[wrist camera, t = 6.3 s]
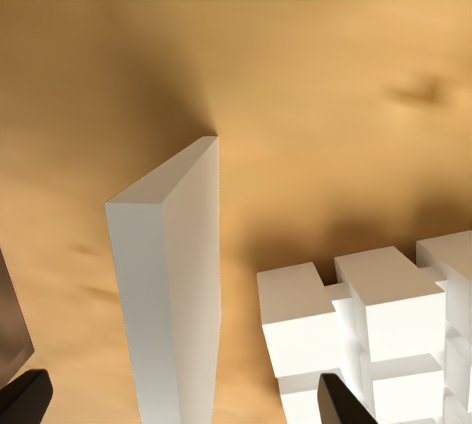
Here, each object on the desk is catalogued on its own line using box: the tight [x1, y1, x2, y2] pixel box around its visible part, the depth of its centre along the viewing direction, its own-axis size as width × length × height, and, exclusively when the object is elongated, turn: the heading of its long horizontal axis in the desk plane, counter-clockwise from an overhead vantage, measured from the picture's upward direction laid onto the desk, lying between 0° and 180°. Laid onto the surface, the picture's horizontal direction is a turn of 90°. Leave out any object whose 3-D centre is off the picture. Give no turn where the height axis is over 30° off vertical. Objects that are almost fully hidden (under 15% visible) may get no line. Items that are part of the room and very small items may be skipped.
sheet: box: [104, 136, 221, 424], centre depth 11 cm, size 12×1×11 cm, turn 0°
